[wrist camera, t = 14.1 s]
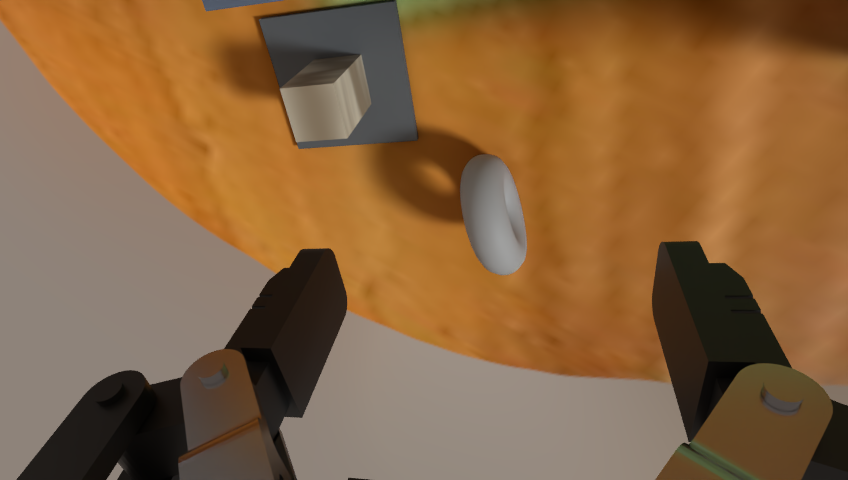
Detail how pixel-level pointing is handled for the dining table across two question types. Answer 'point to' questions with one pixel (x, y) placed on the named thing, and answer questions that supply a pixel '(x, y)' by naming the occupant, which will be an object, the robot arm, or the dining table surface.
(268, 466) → the robot arm
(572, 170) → the dining table surface
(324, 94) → the maple block
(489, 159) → the donut
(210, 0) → the slot box
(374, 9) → the rubber mat
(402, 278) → the dining table surface
